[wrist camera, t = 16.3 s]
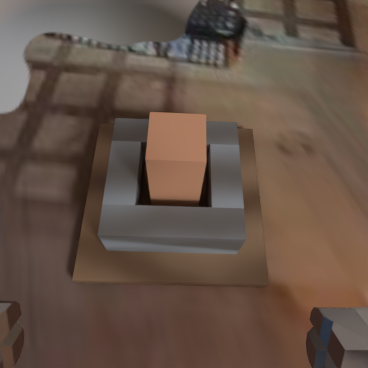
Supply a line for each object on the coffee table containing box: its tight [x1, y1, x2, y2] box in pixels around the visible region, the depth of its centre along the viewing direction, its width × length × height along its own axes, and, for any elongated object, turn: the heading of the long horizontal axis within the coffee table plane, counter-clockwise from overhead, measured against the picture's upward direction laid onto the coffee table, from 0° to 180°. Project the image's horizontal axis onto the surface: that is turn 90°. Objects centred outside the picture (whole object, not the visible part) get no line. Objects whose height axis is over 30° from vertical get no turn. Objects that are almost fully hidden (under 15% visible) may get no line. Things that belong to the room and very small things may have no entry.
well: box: [72, 118, 269, 287], centre depth 28 cm, size 16×16×5 cm
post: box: [145, 112, 207, 207], centre depth 26 cm, size 4×4×9 cm
